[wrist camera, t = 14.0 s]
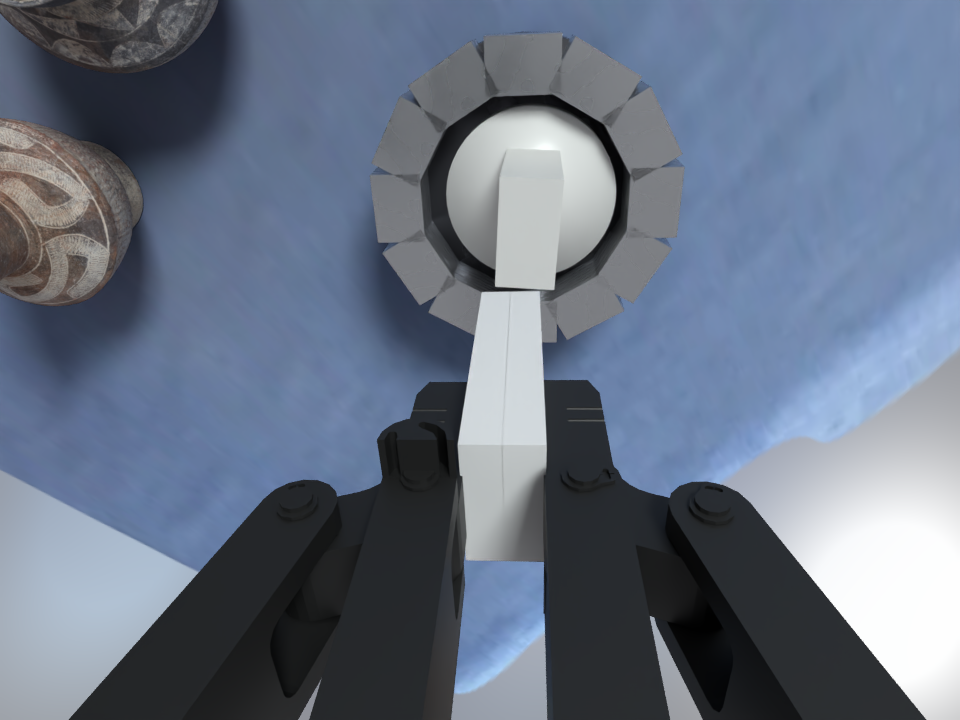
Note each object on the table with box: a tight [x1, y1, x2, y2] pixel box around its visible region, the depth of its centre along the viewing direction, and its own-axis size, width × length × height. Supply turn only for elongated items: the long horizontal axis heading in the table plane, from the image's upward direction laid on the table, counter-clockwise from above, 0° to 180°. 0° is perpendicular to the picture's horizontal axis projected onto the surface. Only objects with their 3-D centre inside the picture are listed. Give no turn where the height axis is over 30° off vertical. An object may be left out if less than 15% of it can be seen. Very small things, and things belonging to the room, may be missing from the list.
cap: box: [446, 103, 616, 290], centre depth 28 cm, size 8×8×8 cm
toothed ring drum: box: [370, 31, 684, 342], centre depth 32 cm, size 14×14×8 cm
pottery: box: [0, 0, 218, 306], centre depth 29 cm, size 11×25×12 cm, turn 151°
